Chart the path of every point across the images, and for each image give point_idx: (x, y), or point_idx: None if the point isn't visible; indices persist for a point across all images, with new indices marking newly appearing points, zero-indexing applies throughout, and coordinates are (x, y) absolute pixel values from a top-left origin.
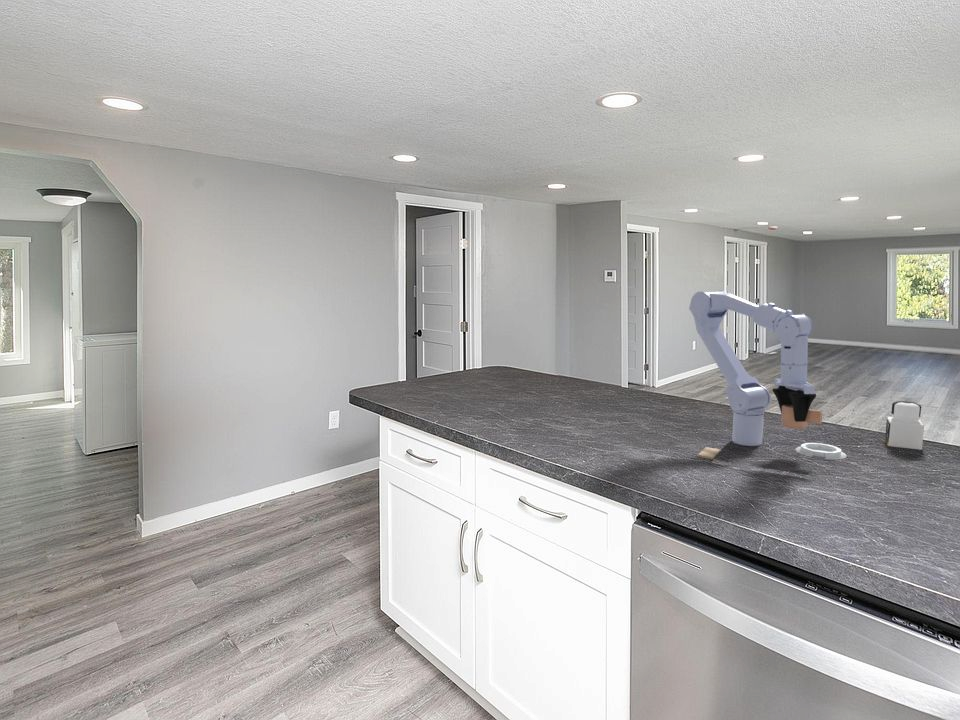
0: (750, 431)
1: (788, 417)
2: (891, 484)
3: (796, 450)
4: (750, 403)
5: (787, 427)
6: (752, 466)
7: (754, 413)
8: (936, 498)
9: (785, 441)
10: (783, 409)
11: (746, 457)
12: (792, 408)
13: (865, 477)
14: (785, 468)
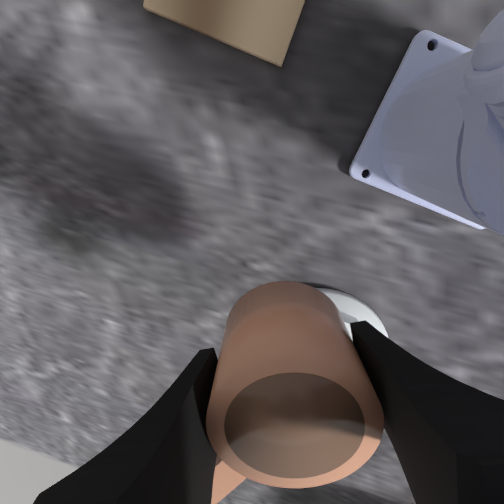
0: (406, 135)
1: (235, 332)
2: (104, 409)
3: (327, 295)
4: (490, 102)
5: (243, 296)
6: (123, 96)
7: (467, 160)
8: (49, 442)
9: (489, 299)
10: (271, 343)
11: (239, 94)
12: (211, 395)
13: (136, 381)
14: (142, 211)
